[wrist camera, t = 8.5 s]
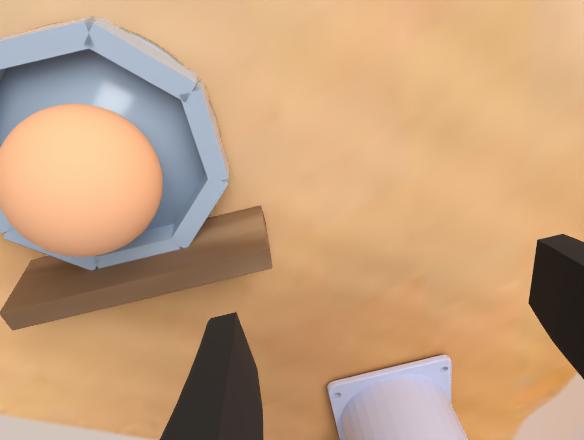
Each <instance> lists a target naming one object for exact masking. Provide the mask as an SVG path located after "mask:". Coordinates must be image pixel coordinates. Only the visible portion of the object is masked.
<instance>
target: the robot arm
mask: <svg viewBox="0 0 584 440" xmlns="http://www.w3.org/2000/svg"><path fill="white" fill-rule="evenodd" d="M529 305H530V306H531V308H532V310H533V311H534V313H535V315H536V316H537V318H538V319H539V321H540V323H541V324H542V326H543V327H544V329H545V330H546V332H547V333H548V335H549V336H550V338H551V340H552V341H553V342H554V343H555V345H556V346H557V347H558V348H559V350H560V351H561V352H562V353H563V355H564V356H565V357H566V358H567V359H568V361H569V362H570V363H571V364H572V366H573V367H574V368H575V369H576V370H577V372H578V373H579V374H580V375H581V376H582V378H583V379H584V242H582V241H579V240H577V239H575V238H572V237H570V236H567V235H565V234H560V235H556V236H552V237H548V238H544V239H539V240H537V247H536V254H535V261H534V268H533V275H532V282H531V289H530V297H529ZM327 389H328V393H329V397H330V401H331V405H332V410H333V414H334V418H335V422H336V426H337V430H338V434H339V438H340V440H469V439H468V437H467V435H466V433H465V431H464V429H463V427H462V425H461V423H460V421H459V419H458V417H457V415H456V413H455V411H454V409H453V407H452V405H451V360H450V358H449V356H447V355H439V356H435V357H431V358H427V359H423V360H419V361H414V362H410V363H406V364H402V365H398V366H394V367H390V368H385V369H381V370H377V371H373V372H369V373H365V374H361V375H356V376H352V377H348V378H344V379H340V380H336V381H332V382H330V383H329V384H328V386H327ZM160 440H263V410H262V402H261V394H260V386H259V379H258V371H257V367H256V364H255V361H254V359H253V356H252V353H251V351H250V348H249V345H248V343H247V340H246V337H245V334H244V332H243V329H242V326H241V324H240V321H239V318H238V316H237V313H236V312H235V313H231V314H227V315H223V316H218V317H214V318H211V319H210V320H209V322H208V323H207V326H206V329H205V332H204V335H203V338H202V341H201V344H200V347H199V350H198V352H197V355H196V358H195V360H194V363H193V366H192V368H191V371H190V373H189V376H188V378H187V380H186V383H185V385H184V388H183V390H182V392H181V395H180V397H179V400H178V402H177V404H176V406H175V409H174V411H173V413H172V415H171V417H170V419H169V421H168V423H167V426H166V428H165V430H164V432H163V434H162V436H161V438H160Z"/></svg>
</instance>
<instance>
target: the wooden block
mask: <svg viewBox="0 0 584 440" xmlns="http://www.w3.org/2000/svg"><path fill="white" fill-rule="evenodd" d="M271 268H272V261H271V255H270V248H269V242H268V235H267V228H266V222H265V219H264V215H263V211H262V208H261V206H257V207H253V208H249V209H245V210H241V211H236V212H232V213H228V214H224V215H220V216H215V217H211V218H207V219H206V220H205V222H204V223H203V225H202V226H201V228H200V229H199V231H198V233H197V234H196V236H195V237H194V239H193V240H192V242H191V243H190V245H189V247H186V248H182V247H180V249H178V250H174V251H170V252H166V253H161V254H157V255H153V256H149V257H145V258H140V259H136V260H132V261H128V262H124V263H120V264H115V265H111V266H107V267H103V268H99V269H98V267H97V266H96V268H95V269H94V270H88V269H85V268H83V267H80V266H77V265H74V264H72V263H69V262H66V261H64V260H61V259H58V258H56V257H53V256H48V257H44V258H39V259H35V260H31V262H30V263H29V265H28V267H27V268H26V270H25V272H24V273H23V275H22V277H21V278H20V280H19V281H18V283H17V285H16V286H15V288H14V290H13V291H12V293H11V295H10V296H9V298H8V300H7V301H6V303H5V305H4V306H3V308H2V309H1V311H0V315H1V316H2V318H3V319H4V320H5V322H6V323H7V324H8V325H9V327H10V328H11V329H12V330H17V329H21V328H25V327H29V326H33V325H37V324H42V323H46V322H50V321H54V320H58V319H63V318H67V317H71V316H75V315H79V314H83V313H88V312H92V311H96V310H100V309H104V308H108V307H113V306H117V305H121V304H125V303H129V302H134V301H138V300H142V299H146V298H150V297H154V296H159V295H163V294H167V293H171V292H175V291H179V290H184V289H188V288H192V287H196V286H200V285H204V284H209V283H213V282H217V281H221V280H225V279H230V278H234V277H238V276H242V275H246V274H250V273H255V272H259V271H263V270H267V269H271Z"/></svg>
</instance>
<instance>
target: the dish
mask: <svg viewBox="0 0 584 440" xmlns="http://www.w3.org/2000/svg"><path fill="white" fill-rule="evenodd" d="M197 77H198V74H196V73H194V72H193V71H191V70H189V69H188V68H186V67H185V66H184V65H183V64H182V63H181V62H179V61H178V60H177V59H176V58H175V57H174V56H173V55H171V54H170V53H169V52H167V51H166V50H165V49H163V48H162V47H160V46H159V45H157V44H156V43H154V42H152V41H150V40H148V39H146V38H145V37H143V36H141V35H139V34H136V33H134V32H131V31H128V30H126V29H123V28H120V27H117V26H116V25H114V24H112V23H111V22H109V21H107V20H106V19H104V18H100V19H98V20H97V21H95V18H94V16H90V17H86V18H81V19H77V20H73V21H68V22H61V23H54V24H49V25H46V26H42V27H39V28H36V29H33V30H31V31H26V32H22V33H18V34H14V35H9V36H5V37H1V38H0V148H1V146H2V144H3V142H4V140H5V139H6V138H7V136H8V135H9V134H10V132H11V131H12V130H13V129H14V128H15V127H16V126H17V125H18V124H19V123H20V122H22V121H23V120H25V119H26V118H28V117H29V116H31V115H32V114H34V113H36V112H38V111H40V110H43V109H46V108H49V107H53V106H57V105H63V104H87V105H92V106H97V107H101V108H104V109H107V110H110V111H112V112H115V113H117V114H119V115H120V116H122V117H124V118H126V119H127V120H128V121H130V122H131V123H132V124H134V125H135V126H136V127H137V128H138V129H139V130H140V131H141V132H142V133H143V134H144V135H145V136H146V138H147V139H148V140H149V142H150V143H151V145H152V146H153V148H154V150H155V152H156V154H157V156H158V159H159V163H160V166H161V170H162V176H163V189H162V197H161V200H160V204H159V207H158V210H157V212H156V214H155V216H154V218H153V219H152V221H151V222H150V224H149V225H148V226H147V228H146V229H145V230H144V231H143V232H142V233H141V234H140V235H139V236H138V237H136V238H135V239H134V240H133V241H132V242H130V243H128V244H127V245H125V246H123V247H121V248H119V249H117V250H114V251H112V252H109V253H106V254H102V255H97V256H87V257H75V256H66V255H61V254H57V253H54V252H50V251H48V250H45V249H43V248H41V247H39V246H37V245H35V244H33V243H32V242H30V241H29V240H27V239H26V238H25V237H23V236H22V235H21V234H20V233H19V232H18V231H17V230H16V229H15V228H14V227H13V226H12V225H11V223H10V222H9V221H8V219H7V218H6V217H5V215H4V213H3V211H2V210H1V207H0V233H3V232H6V233H5V236H4V239H7V240H9V241H12V242H15V243H18V244H20V245H23V246H26V247H28V248H31V249H34V250H37V251H39V252H42V253H45V254H47V255H50V256H53V257H56V258H58V259H61V260H64V261H66V262H69V263H72V264H74V265H77V266H80V267H83V268H85V269H88V270H94V269H95V268H96V266H97V267H98V269H99V268H103V267H107V266H111V265H115V264H120V263H124V262H128V261H132V260H136V259H140V258H145V257H149V256H153V255H157V254H161V253H166V252H170V251H174V250H178V249H180V247H182V248H186V247H189V245H190V243H191V242H192V240H193V239H194V237H195V236H196V234H197V233H198V231H199V229H200V228H201V226H202V225H203V223H204V222H205V220H206V219H207V217H208V215H209V214H210V212H211V211H212V209H213V208H214V206H215V205H216V203H217V201H218V200H219V198H220V197H221V195H222V194H223V192H224V191H225V189H226V187H227V186H228V179H229V165H228V162H227V158H226V155H225V152H224V148H223V145H222V142H221V138H220V131H219V126H218V122H217V118H216V115H215V113H214V110H213V108H212V105H211V103H210V101H209V99H208V96H207V93H206V90H205V86H204V83H203V81H200V82H197Z"/></svg>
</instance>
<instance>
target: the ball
mask: <svg viewBox="0 0 584 440" xmlns="http://www.w3.org/2000/svg"><path fill="white" fill-rule="evenodd" d="M162 189H163V176H162V170H161V166H160V163H159V159H158V156H157V154H156V152H155V150H154V148H153V146H152V145H151V143H150V142H149V140H148V139H147V138H146V136H145V135H144V134H143V133H142V132H141V131H140V130H139V129H138V128H137V127H136V126H135V125H134V124H132V123H131V122H130V121H128V120H127V119H126V118H124V117H122V116H120V115H119V114H117V113H115V112H112V111H110V110H107V109H104V108H101V107H97V106H92V105H87V104H63V105H57V106H53V107H49V108H46V109H43V110H40V111H38V112H36V113H34V114H32V115H31V116H29V117H28V118H26V119H25V120H23V121H22V122H20V123H19V124H18V125H17V126H16V127H15V128H14V129H13V130H12V131H11V132H10V134H9V135H8V136H7V138H6V139H5V140H4V142H3V144H2V146H1V148H0V207H1V210H2V211H3V213H4V215H5V217H6V218H7V219H8V221H9V222H10V223H11V225H12V226H13V227H14V228H15V229H16V230H17V231H18V232H19V233H20V234H21V235H22V236H23V237H25V238H26V239H27V240H29V241H30V242H32V243H33V244H35V245H37V246H39V247H41V248H43V249H45V250H48V251H50V252H54V253H57V254H61V255H66V256H75V257H87V256H97V255H102V254H106V253H109V252H112V251H114V250H117V249H119V248H121V247H123V246H125V245H127V244H128V243H130V242H132V241H133V240H134V239H135V238H136V237H138V236H139V235H140V234H141V233H142V232H143V231H144V230H145V229H146V228H147V226H148V225H149V224H150V222H151V221H152V219H153V218H154V216H155V214H156V212H157V210H158V207H159V204H160V200H161V197H162Z"/></svg>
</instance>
